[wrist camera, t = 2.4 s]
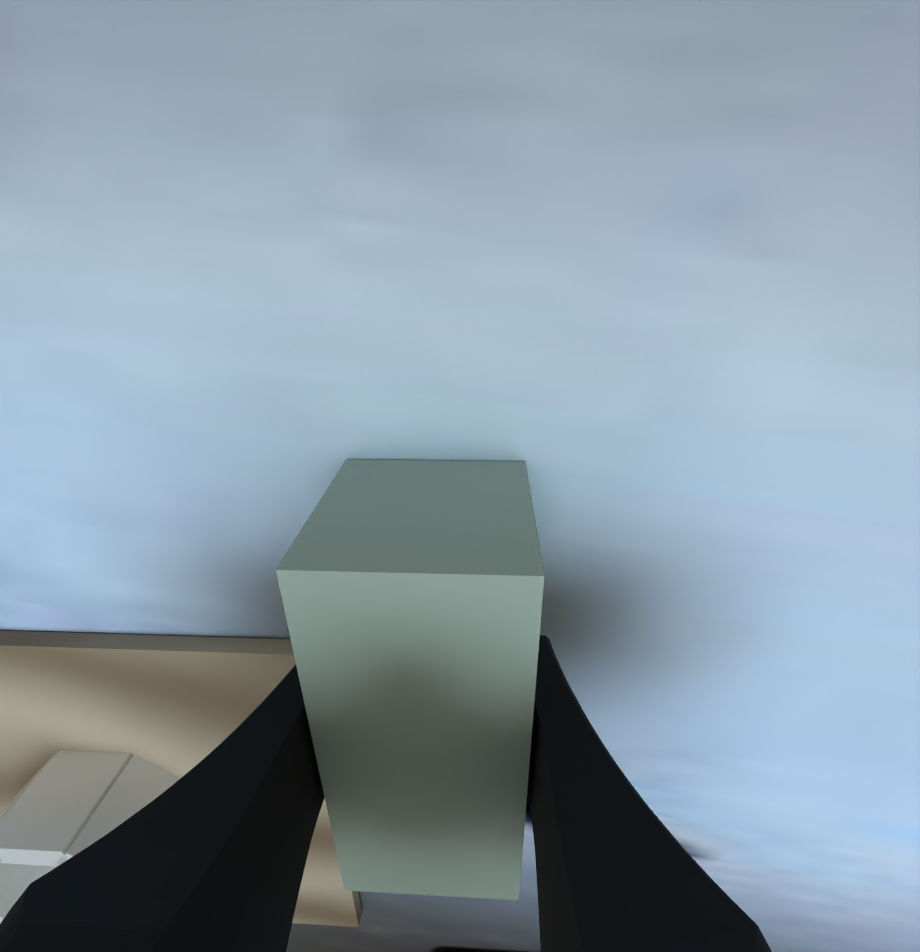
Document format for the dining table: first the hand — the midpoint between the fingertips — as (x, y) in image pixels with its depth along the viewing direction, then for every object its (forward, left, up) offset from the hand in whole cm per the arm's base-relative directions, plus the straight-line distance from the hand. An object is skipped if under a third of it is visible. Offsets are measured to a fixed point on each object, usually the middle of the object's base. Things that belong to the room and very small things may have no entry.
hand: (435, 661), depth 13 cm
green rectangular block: (0, 0, -2) cm, 2 cm away
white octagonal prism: (-9, +12, -1) cm, 15 cm away
